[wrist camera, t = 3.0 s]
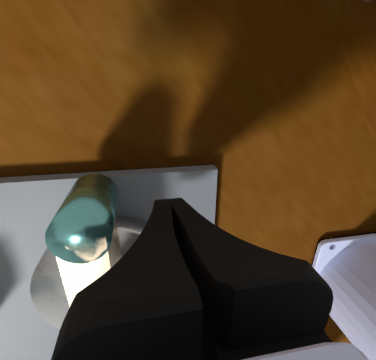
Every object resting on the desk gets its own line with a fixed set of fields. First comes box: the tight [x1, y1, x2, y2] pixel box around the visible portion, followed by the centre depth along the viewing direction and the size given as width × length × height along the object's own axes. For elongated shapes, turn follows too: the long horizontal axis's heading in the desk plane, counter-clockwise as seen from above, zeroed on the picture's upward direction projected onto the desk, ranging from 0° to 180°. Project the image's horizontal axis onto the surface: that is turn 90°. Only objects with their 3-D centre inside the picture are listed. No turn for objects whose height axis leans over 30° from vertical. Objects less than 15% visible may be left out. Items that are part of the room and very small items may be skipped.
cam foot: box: [30, 173, 146, 329], centre depth 12 cm, size 11×8×4 cm
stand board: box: [0, 165, 218, 360], centre depth 16 cm, size 16×15×1 cm
